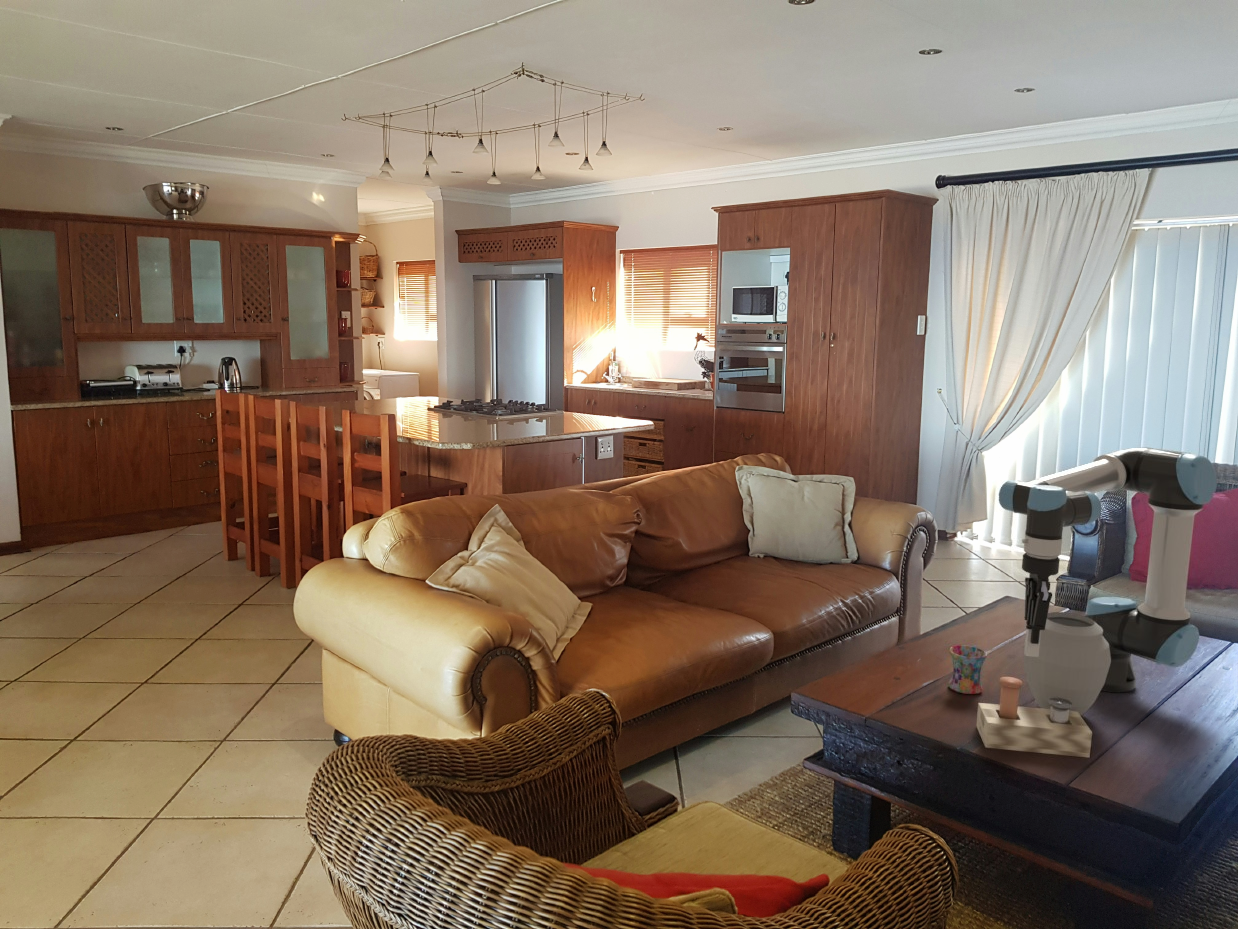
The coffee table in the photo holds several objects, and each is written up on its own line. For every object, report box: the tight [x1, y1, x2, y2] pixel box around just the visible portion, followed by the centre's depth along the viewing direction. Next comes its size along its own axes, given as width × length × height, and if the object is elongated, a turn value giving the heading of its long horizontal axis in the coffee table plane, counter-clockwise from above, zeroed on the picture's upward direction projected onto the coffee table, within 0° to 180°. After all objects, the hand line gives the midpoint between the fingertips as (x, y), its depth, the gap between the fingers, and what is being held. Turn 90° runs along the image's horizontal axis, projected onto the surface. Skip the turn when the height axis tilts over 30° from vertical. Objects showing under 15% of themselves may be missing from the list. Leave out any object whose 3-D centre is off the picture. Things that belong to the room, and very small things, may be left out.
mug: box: [947, 644, 988, 695], centre depth 240 cm, size 12×9×11 cm
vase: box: [1022, 611, 1111, 717], centre depth 225 cm, size 20×20×24 cm
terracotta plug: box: [999, 676, 1023, 720], centre depth 211 cm, size 5×5×9 cm
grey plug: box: [1049, 697, 1072, 724], centre depth 210 cm, size 5×5×9 cm
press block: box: [976, 702, 1093, 758], centre depth 211 cm, size 22×11×6 cm, turn 79°
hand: (1031, 655), depth 208 cm, fingers closed
